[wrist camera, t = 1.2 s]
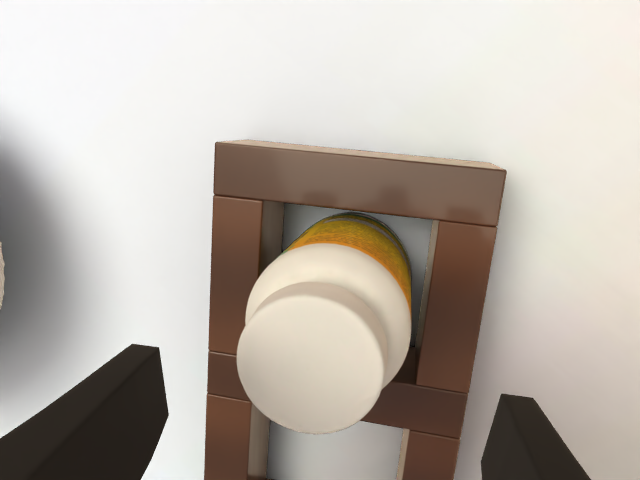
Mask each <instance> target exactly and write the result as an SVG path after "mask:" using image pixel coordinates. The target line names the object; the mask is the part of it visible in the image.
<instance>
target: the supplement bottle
mask: <svg viewBox="0 0 640 480" xmlns="http://www.w3.org/2000/svg"><path fill="white" fill-rule="evenodd" d="M245 324H246V326H245V327H244V330H243V332H242V334H241V336H240V339H239V343H238V348H237V369H238V374H239V378H240V380H241V383H242V385H243V387H244V390H245V392H246V394H247V396H248V397H249V398H250V400H251V401H252V403H253V404H254V405H255V406H256V407H257V408H258V409H259V410H260V411H261V412H262V413H263V414H264V415H265V416H267V417H268V418H269V419H271V420H272V421H274V422H276V423H277V424H279V425H281V426H284V427H286V428H288V429H291V430H294V431H297V432H302V433H309V434H325V433H333V432H337V431H340V430H343V429H346V428H348V427H350V426H351V425H353V424H355V423H357V422H358V421H359V420H361V419H362V418H363V417H364V416H365V415H366V414H367V413H368V412H369V411H370V410H371V409H372V407H373V406H374V404H375V403H376V401H377V399H378V397H379V395H380V393H381V390H382V389H383V388H384V387H385V386H386V385H387V384H388V383H389V382H390V381H391V380H392V379H393V378H394V377H395V375H396V374H397V373H398V371H399V369H400V368H401V366H402V364H403V362H404V360H405V357H406V355H407V352H408V349H409V344H410V339H411V267H410V262H409V258H408V255H407V253H406V250H405V248H404V246H403V244H402V243H401V241H400V240H399V238H398V237H397V236H396V234H395V233H394V232H393V231H392V230H391V229H390V228H389V227H388V226H386V225H385V224H383V223H382V222H380V221H378V220H377V219H374V218H372V217H370V216H367V215H363V214H358V213H341V214H335V215H332V216H329V217H326V218H324V219H322V220H320V221H318V222H317V223H315V224H314V225H312V226H311V227H310V228H308V229H307V230H306V231H305V232H304V233H303V234H302V235H301V236H300V237H299V238H298V239H296V240H295V241H294V242H293V243H292V244H291V245H290V246H289V247H288V248H287V249H286V250H285V251H284V252H283V253H282V254H280V255H279V256H278V257H277V258H276V259H275V260H274V261H273V262H272V263H271V264H270V265H269V266H268V267H267V268H266V269H265V270H264V271H263V273H262V274H261V275H260V277H259V278H258V280H257V281H256V283H255V285H254V287H253V289H252V291H251V293H250V296H249V299H248V304H247V308H246V318H245Z"/></svg>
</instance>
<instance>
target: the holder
mask: <svg viewBox="0 0 640 480" xmlns="http://www.w3.org/2000/svg"><path fill="white" fill-rule="evenodd" d="M506 174H507V171H506V170H504V169H502V168H500V167H498V166H496V165H494V164H491V163H487V162H476V161H466V160H455V159H445V158H434V157H424V156H413V155H403V154H392V153H381V152H371V151H360V150H350V149H339V148H329V147H318V146H308V145H297V144H287V143H276V142H266V141H255V140H235V141H222V142H216V143H215V161H214V192H213V193H214V194H215V195H214V196H213V221H212V253H211V284H210V316H209V347H208V349H209V352H208V384H207V392H208V393H207V406H206V438H205V469H204V480H273V479H268V478H266V473H267V458H268V443H269V428H270V419H269V418H268V417H267V416H265V415H264V414H263V413H262V412H261V411H260V410H259V409H258V408H257V407H256V406H255V405H254V404H253V403H252V401H251V400H250V398H249V397H248V396H247V394H246V392H245V390H244V387H243V385H242V383H241V380H240V378H239V374H238V369H237V348H238V343H239V339H240V336H241V334H242V332H243V330H244V327H245V326H246V324H245V318H246V308H247V304H248V299H249V296H250V293H251V291H252V289H253V287H254V285H255V283H256V281H257V280H258V278H259V277H260V275H261V274H262V273H263V271H264V270H265V269H266V268H267V267H268V266H269V265H270V264H271V263H272V262H273V261H274V260H275V259H276V258H277V257H278V256H279V255H280V254H281V248H282V233H283V219H284V204H285V203H291V204H300V205H308V206H317V207H326V208H335V209H344V210H352V211H361V212H370V213H379V214H387V215H396V216H405V217H414V218H422V219H431V220H433V222H432V229H431V237H430V244H429V251H428V258H427V265H426V272H425V279H424V286H423V293H422V300H421V307H420V314H419V322H418V329H417V336H416V343H415V347H411V346H409V349H408V352H407V355H406V357H405V360H404V362H403V364H402V366H401V368H400V369H399V371H398V373H397V374H396V375H395V377H394V378H393V379H392V380H391V381H390V382H389V383H388V384H387V385H386V386H385V387H384V388H383V389H382V390H381V393H380V395H379V397H378V399H377V401H376V403H375V404H374V406H373V407H372V409H371V410H370V411H369V412H368V413H367V414H366V415H365V416H364V417H363V418H362V419H361V420H360V421H365V422H371V423H376V424H382V425H387V426H393V427H399V428H403V435H402V442H401V449H400V457H399V464H398V471H397V478H396V480H453V479H454V473H455V467H456V462H457V456H458V450H459V444H460V437H461V433H462V427H463V421H464V415H465V410H466V404H467V398H468V392H469V388H470V382H471V376H472V371H473V365H474V359H475V353H476V348H477V342H478V336H479V330H480V325H481V319H482V313H483V307H484V302H485V296H486V290H487V284H488V279H489V273H490V267H491V261H492V255H493V250H494V244H495V238H496V232H497V227H496V226H497V225H498V220H499V214H500V208H501V203H502V197H503V191H504V185H505V180H506Z"/></svg>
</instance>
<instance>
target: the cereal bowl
mask: <svg viewBox="0 0 640 480" xmlns="http://www.w3.org/2000/svg"><path fill="white" fill-rule="evenodd" d="M3 269H4V261H3V255H2V250H1V242H0V310H1V307H2V300H3V296H4V280H5V277H4V270H3Z"/></svg>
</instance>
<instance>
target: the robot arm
mask: <svg viewBox="0 0 640 480" xmlns="http://www.w3.org/2000/svg"><path fill="white" fill-rule="evenodd" d="M168 415H169V414H168V407H167V400H166V393H165V386H164V379H163V372H162V365H161V358H160V351H159V347H152V346H144V345H137V344H131V345H130V346H129V347H127V348H126V349H124V350H123V351H122V352H120V353H119V354H118V355H116V356H115V357H114V358H112V359H111V360H110V361H108V362H107V363H106V364H104V365H103V366H102V367H100V368H99V369H98V370H96V371H95V372H94V373H92V374H91V375H90V376H88V377H87V378H86V379H84V380H83V381H82V382H80V383H79V384H78V385H76V386H75V387H73V388H72V389H71V390H69V391H68V392H67V393H65V394H64V395H62V396H61V397H60V398H58V399H57V400H56V401H54V402H53V403H51V404H50V405H49V406H47V407H46V408H45V409H43V410H42V411H40V412H39V413H37V414H36V415H34V416H33V417H31V418H30V419H28V420H27V421H25V422H24V423H23V424H21V425H20V426H18V427H17V428H15V429H14V430H12V431H11V432H9V433H8V434H6V435H5V436H3V437H2V438H0V480H141V478H142V476H143V474H144V472H145V470H146V468H147V467H148V465H149V463H150V461H151V459H152V456H153V454H154V451H155V449H156V446H157V444H158V442H159V439H160V436H161V434H162V431H163V429H164V426H165V423H166V421H167V418H168ZM481 470H482V480H591V479H590V478H589V476H588V475H587V474H586V472H585V471H584V470H583V468H582V467H581V465H580V464H579V463H578V461H577V460H576V458H575V457H574V456H573V454H572V453H571V451H570V450H569V449H568V447H567V446H566V444H565V443H564V442H563V440H562V439H561V437H560V436H559V434H558V433H557V431H556V430H555V429H554V427H553V426H552V424H551V423H550V421H549V420H548V418H547V417H546V416H545V414H544V413H543V411H542V410H541V408H540V407H539V405H538V404H537V403H536V401H535V400H534V399H533V398H530V397H523V396H515V395H508V394H501V396H500V400H499V403H498V406H497V410H496V413H495V416H494V420H493V423H492V426H491V430H490V433H489V436H488V440H487V443H486V446H485V450H484V453H483V456H482V460H481Z"/></svg>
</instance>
